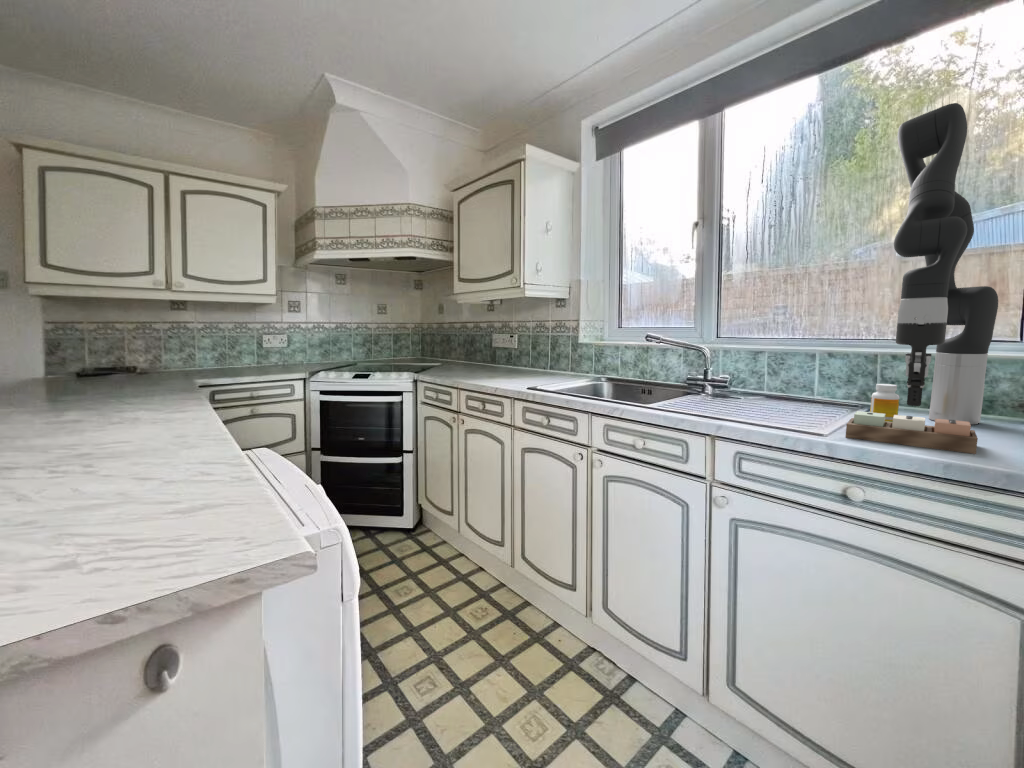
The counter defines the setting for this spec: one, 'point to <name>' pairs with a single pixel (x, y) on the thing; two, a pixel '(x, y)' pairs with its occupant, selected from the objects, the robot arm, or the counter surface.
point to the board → (913, 437)
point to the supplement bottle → (885, 401)
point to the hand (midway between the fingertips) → (913, 405)
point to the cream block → (908, 422)
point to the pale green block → (869, 418)
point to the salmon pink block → (952, 427)
